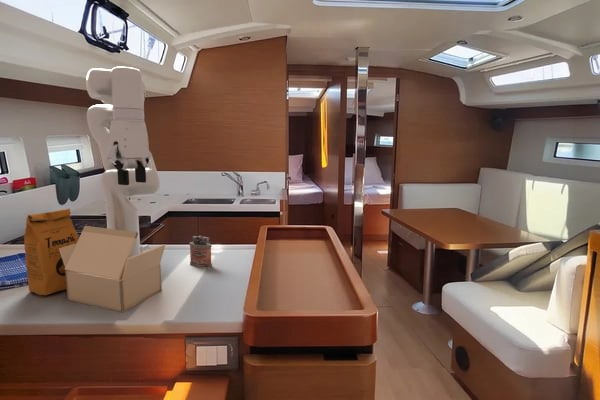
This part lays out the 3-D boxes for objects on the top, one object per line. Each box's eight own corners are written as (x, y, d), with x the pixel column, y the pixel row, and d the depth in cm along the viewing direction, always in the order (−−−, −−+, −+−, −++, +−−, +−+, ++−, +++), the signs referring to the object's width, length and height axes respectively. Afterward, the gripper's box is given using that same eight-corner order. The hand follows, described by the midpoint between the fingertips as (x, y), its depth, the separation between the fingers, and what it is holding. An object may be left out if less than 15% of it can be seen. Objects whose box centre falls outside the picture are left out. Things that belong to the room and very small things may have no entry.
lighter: (187, 265, 126) (186, 236, 125) (194, 262, 129) (193, 233, 128) (208, 268, 123) (207, 238, 122) (214, 265, 126) (213, 236, 125)
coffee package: (90, 285, 108) (84, 209, 104) (42, 300, 98) (33, 217, 94) (72, 278, 113) (66, 205, 110) (24, 291, 103) (16, 212, 99)
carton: (104, 280, 112) (101, 235, 109) (168, 292, 104) (166, 243, 102) (61, 299, 99) (56, 248, 96) (130, 313, 91) (127, 259, 89)
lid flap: (86, 226, 101) (84, 225, 101) (138, 233, 96) (136, 232, 95) (66, 270, 96) (64, 269, 96) (119, 279, 91) (117, 278, 90)
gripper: (140, 117, 110) (143, 179, 113) (91, 114, 94) (96, 186, 97) (162, 117, 108) (164, 181, 111) (114, 114, 92) (119, 188, 95)
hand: (132, 182), depth 104 cm, fingers open, 5 cm apart
